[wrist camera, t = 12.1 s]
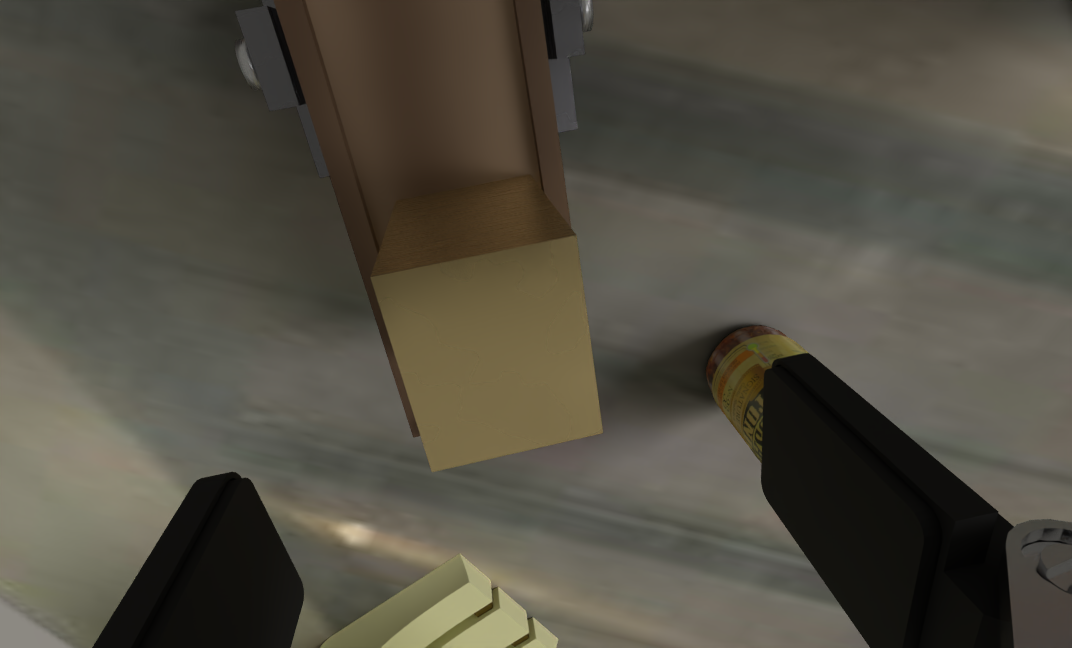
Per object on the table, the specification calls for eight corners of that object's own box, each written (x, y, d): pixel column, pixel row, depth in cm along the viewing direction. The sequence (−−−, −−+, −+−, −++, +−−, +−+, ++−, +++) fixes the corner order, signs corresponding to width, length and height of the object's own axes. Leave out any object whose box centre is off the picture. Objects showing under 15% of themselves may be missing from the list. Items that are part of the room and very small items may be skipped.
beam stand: (543, -107, 25) (591, -188, 17) (573, 126, 29) (621, 150, 21) (249, -60, 24) (151, -121, 16) (324, 173, 29) (277, 217, 20)
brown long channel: (430, -668, 14) (426, -896, 11) (580, 366, 27) (599, 408, 24) (97, -636, 13) (-17, -866, 10) (416, 401, 27) (412, 450, 23)
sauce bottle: (707, 322, 36) (969, 583, 18) (798, 318, 36) (1135, 562, 19) (693, 410, 38) (909, 711, 21) (778, 403, 39) (1056, 687, 21)
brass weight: (530, 174, 21) (576, 235, 14) (554, 318, 23) (603, 433, 16) (396, 200, 20) (370, 277, 13) (435, 343, 23) (432, 472, 16)
